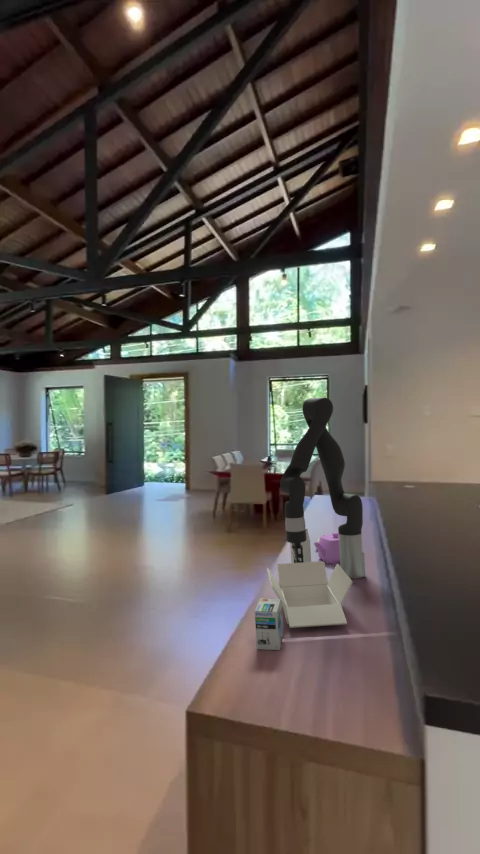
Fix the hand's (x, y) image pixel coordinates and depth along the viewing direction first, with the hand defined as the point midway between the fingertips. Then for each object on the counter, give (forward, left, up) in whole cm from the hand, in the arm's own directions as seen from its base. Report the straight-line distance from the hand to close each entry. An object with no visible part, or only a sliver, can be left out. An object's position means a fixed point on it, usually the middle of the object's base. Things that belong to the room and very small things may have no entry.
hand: (298, 571), depth 177 cm
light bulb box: (+15, +41, -7) cm, 45 cm away
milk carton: (-3, -19, -7) cm, 20 cm away
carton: (0, +23, -7) cm, 24 cm away
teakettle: (-22, -38, -8) cm, 44 cm away
